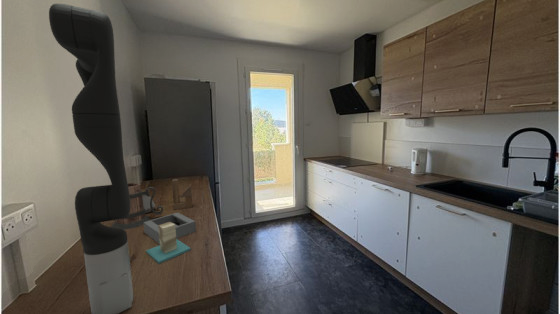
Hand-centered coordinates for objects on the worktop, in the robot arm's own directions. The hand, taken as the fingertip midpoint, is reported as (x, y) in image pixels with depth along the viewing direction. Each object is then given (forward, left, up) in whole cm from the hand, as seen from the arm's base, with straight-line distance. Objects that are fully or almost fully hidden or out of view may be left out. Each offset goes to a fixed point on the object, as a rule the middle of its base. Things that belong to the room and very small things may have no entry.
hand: (106, 162), depth 83 cm
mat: (-13, -14, -36) cm, 41 cm away
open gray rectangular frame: (+4, -22, -36) cm, 42 cm away
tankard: (+30, -17, -36) cm, 50 cm away
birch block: (-13, -14, -35) cm, 40 cm away
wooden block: (+32, -42, -36) cm, 64 cm away
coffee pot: (+48, -27, -36) cm, 66 cm away
